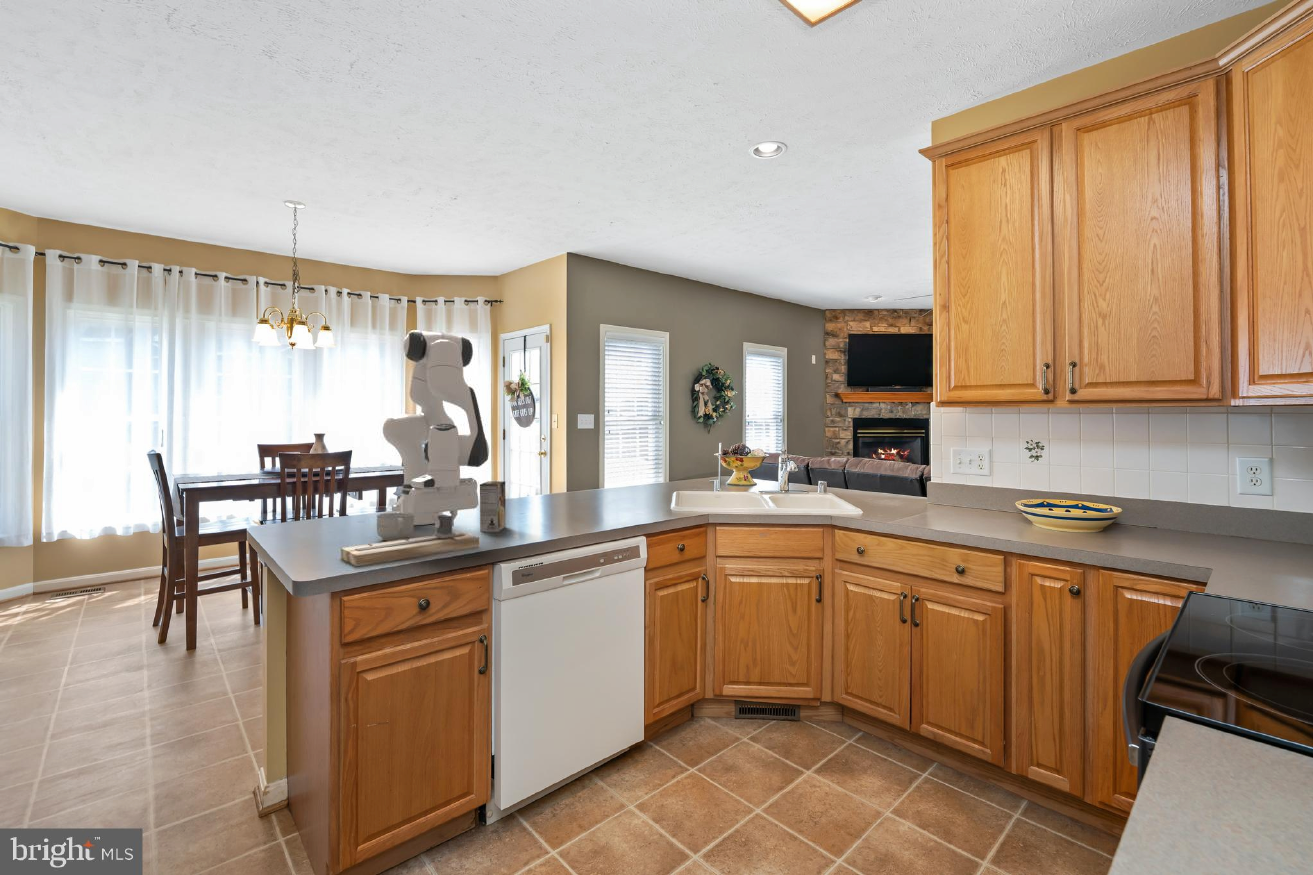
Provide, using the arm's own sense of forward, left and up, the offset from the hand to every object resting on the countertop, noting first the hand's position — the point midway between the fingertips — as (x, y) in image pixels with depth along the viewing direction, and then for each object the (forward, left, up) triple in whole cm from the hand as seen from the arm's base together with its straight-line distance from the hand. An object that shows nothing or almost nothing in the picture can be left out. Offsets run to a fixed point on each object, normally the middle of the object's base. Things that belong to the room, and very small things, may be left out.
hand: (444, 526), depth 176 cm
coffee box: (-16, +25, -6) cm, 30 cm away
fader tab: (0, 0, -3) cm, 3 cm away
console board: (0, -9, -6) cm, 11 cm away
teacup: (-20, -6, -6) cm, 22 cm away
